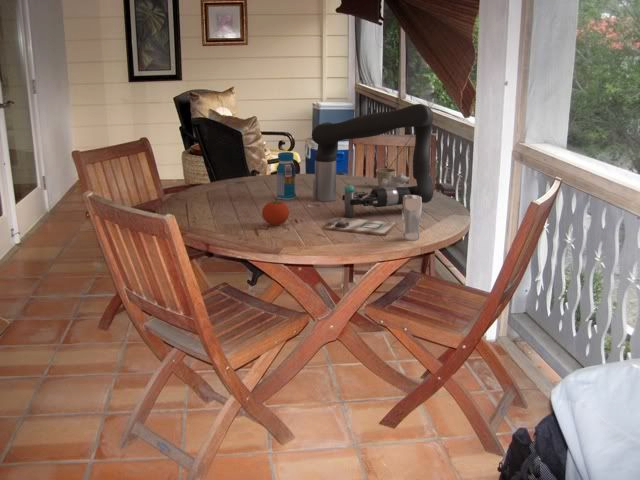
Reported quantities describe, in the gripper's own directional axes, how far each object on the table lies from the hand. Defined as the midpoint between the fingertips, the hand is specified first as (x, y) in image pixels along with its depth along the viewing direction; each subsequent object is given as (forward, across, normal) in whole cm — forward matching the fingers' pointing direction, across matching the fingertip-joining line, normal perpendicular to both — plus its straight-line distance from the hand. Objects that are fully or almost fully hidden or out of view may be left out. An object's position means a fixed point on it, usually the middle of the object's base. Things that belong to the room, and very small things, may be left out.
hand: (346, 200), depth 265 cm
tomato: (+29, +2, +7) cm, 30 cm away
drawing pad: (0, +15, +7) cm, 17 cm away
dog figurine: (-34, -30, +7) cm, 46 cm away
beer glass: (-11, +35, +7) cm, 37 cm away
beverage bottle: (+13, -41, +7) cm, 43 cm away
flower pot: (-37, -46, +7) cm, 59 cm away
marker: (-1, 0, +7) cm, 7 cm away
